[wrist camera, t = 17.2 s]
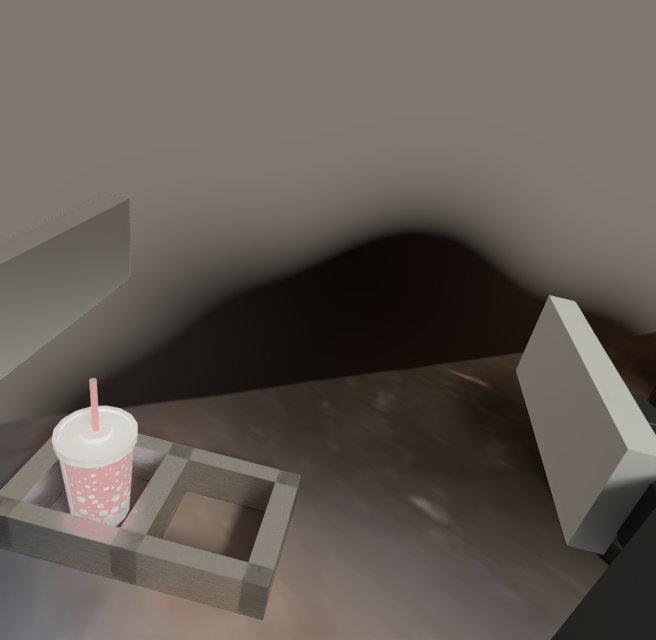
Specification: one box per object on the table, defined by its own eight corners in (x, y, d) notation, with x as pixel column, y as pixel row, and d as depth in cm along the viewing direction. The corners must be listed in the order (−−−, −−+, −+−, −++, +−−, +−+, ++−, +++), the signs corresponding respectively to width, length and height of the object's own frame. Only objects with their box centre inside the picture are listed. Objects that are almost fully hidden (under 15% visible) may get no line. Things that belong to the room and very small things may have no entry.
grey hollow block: (294, 505, 48) (301, 475, 46) (262, 619, 38) (269, 588, 36) (74, 447, 49) (71, 415, 47) (-11, 544, 39) (-19, 509, 37)
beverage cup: (153, 510, 45) (154, 384, 38) (86, 554, 40) (74, 420, 33) (113, 470, 48) (108, 346, 41) (46, 507, 43) (28, 375, 36)
